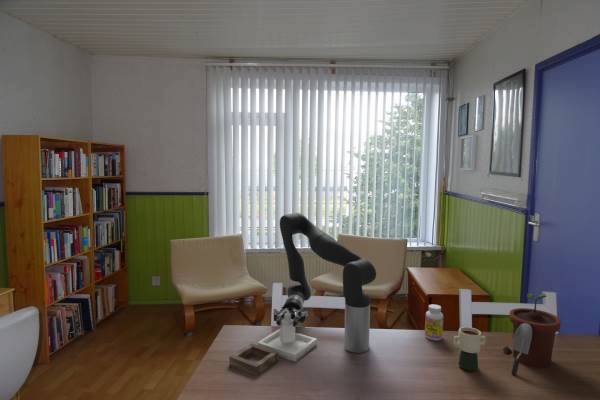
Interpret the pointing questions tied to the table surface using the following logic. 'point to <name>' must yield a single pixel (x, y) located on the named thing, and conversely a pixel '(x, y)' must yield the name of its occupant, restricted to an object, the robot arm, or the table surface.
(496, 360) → the table surface
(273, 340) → the tray
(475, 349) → the character mug
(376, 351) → the table surface
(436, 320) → the supplement bottle
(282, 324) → the eye dropper bottle
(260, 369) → the walnut holder
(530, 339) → the potted plant
